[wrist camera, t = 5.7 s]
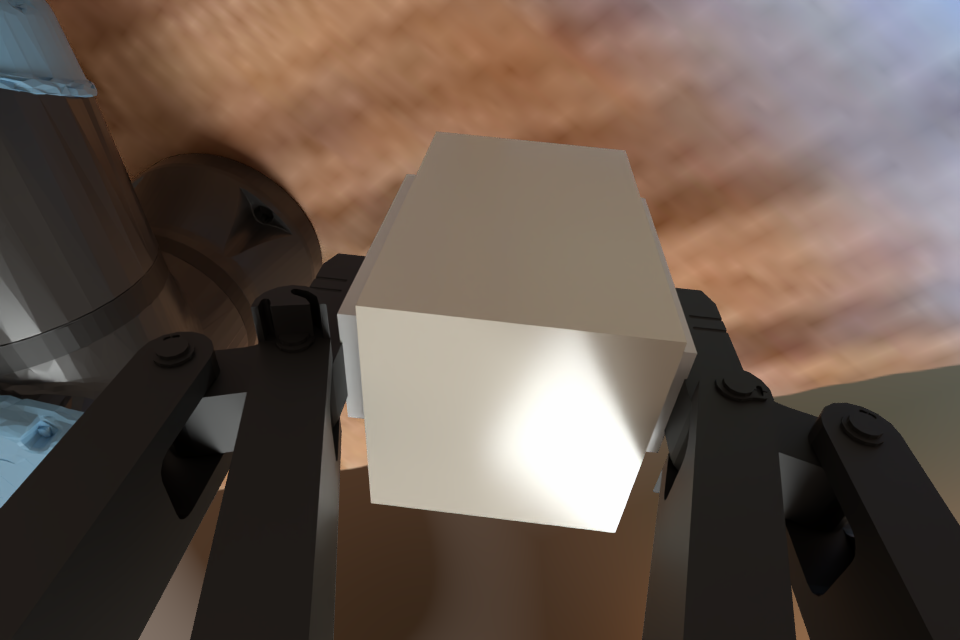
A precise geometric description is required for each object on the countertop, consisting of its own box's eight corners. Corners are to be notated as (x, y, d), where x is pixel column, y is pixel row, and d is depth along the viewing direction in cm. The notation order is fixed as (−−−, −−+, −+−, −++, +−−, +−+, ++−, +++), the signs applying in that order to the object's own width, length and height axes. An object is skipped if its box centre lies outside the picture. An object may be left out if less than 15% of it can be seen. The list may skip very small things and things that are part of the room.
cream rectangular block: (432, 288, 18) (370, 502, 12) (436, 131, 15) (355, 305, 8) (589, 305, 18) (614, 532, 11) (625, 150, 15) (687, 342, 8)
